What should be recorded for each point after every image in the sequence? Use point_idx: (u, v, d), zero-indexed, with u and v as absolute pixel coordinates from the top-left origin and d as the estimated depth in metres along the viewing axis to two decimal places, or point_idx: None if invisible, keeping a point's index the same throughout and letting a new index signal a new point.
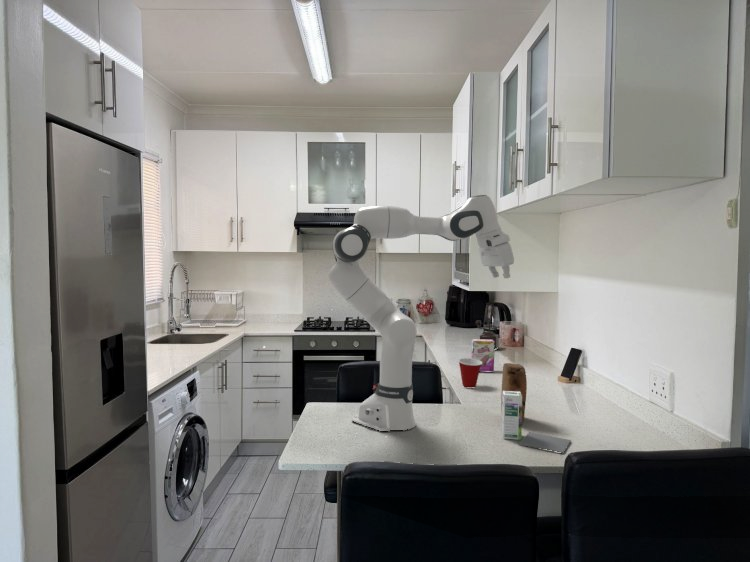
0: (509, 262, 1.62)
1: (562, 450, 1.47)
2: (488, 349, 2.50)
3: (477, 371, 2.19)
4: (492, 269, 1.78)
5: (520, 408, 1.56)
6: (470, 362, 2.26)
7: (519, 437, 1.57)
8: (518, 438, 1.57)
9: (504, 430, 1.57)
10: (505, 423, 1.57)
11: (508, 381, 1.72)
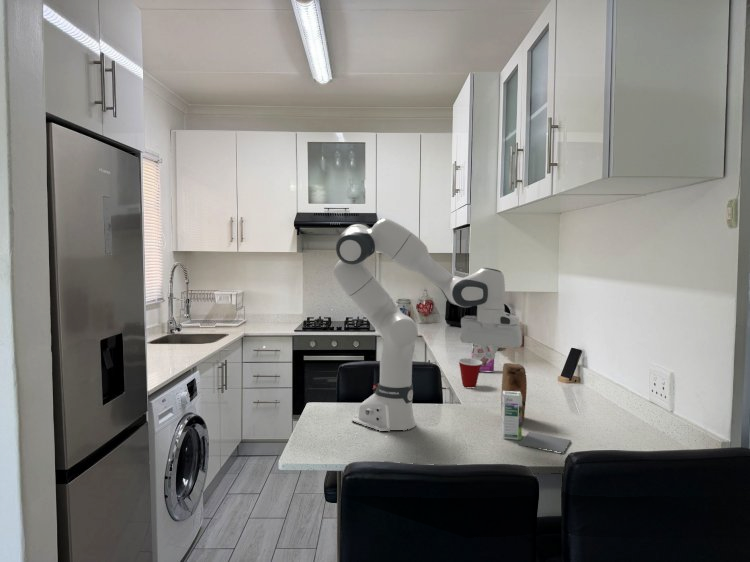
0: (520, 344, 1.57)
1: (562, 450, 1.47)
2: (488, 349, 2.50)
3: (477, 371, 2.19)
4: (485, 349, 1.63)
5: (520, 408, 1.56)
6: (470, 362, 2.26)
7: (519, 437, 1.57)
8: (518, 438, 1.57)
9: (504, 430, 1.57)
10: (505, 423, 1.57)
11: (508, 381, 1.72)
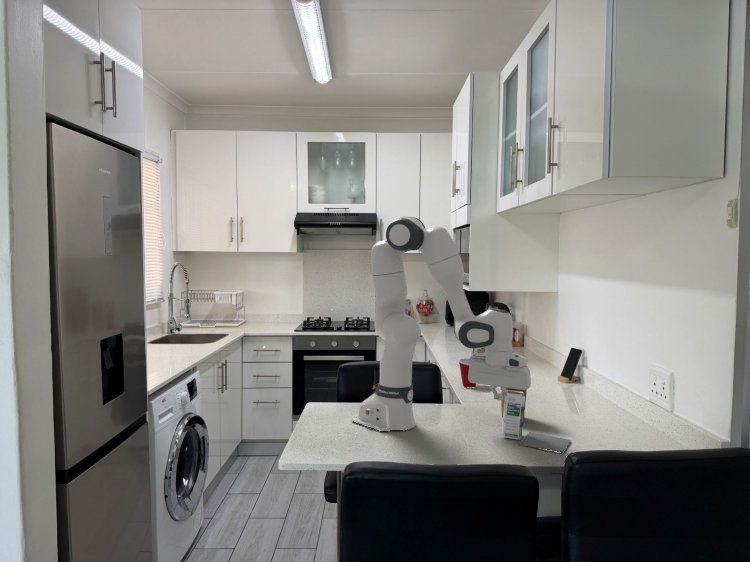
0: (529, 386, 1.56)
1: (562, 450, 1.47)
2: None
3: None
4: (494, 390, 1.62)
5: (522, 409, 1.56)
6: None
7: (519, 437, 1.57)
8: (518, 438, 1.57)
9: (505, 429, 1.57)
10: (506, 422, 1.57)
11: None
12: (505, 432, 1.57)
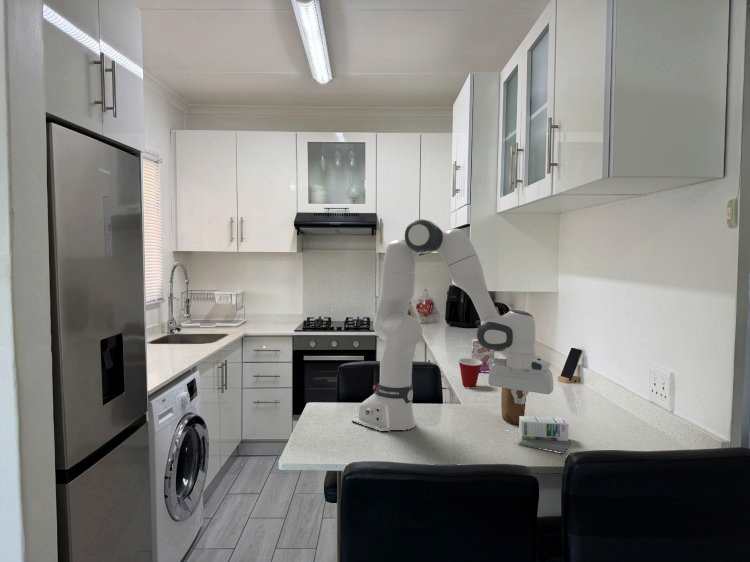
0: (552, 390, 1.53)
1: (562, 450, 1.47)
2: (488, 349, 2.50)
3: (477, 371, 2.19)
4: (514, 393, 1.59)
5: (554, 439, 1.55)
6: (470, 362, 2.26)
7: (524, 437, 1.56)
8: (523, 436, 1.56)
9: (530, 422, 1.56)
10: (538, 424, 1.55)
11: None
12: (527, 423, 1.56)
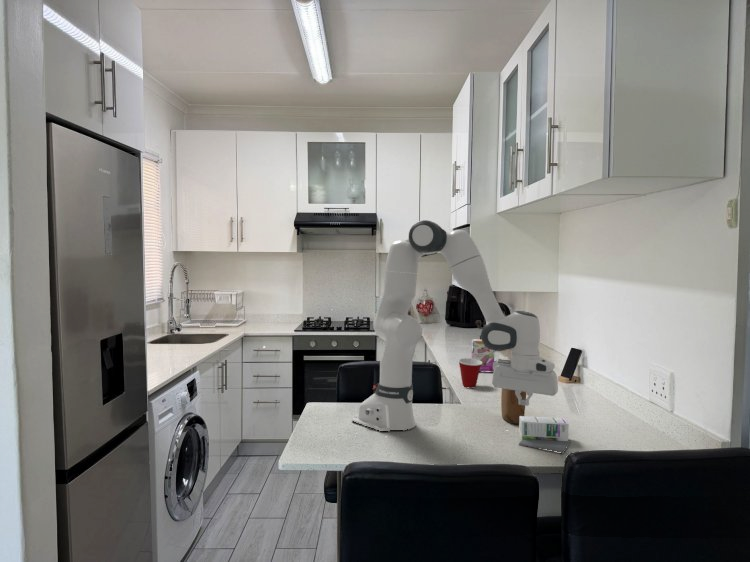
0: (556, 392, 1.52)
1: (562, 450, 1.47)
2: (488, 349, 2.50)
3: (477, 371, 2.19)
4: (519, 395, 1.58)
5: (554, 439, 1.55)
6: (470, 362, 2.26)
7: (524, 437, 1.56)
8: (523, 436, 1.56)
9: (530, 422, 1.56)
10: (538, 424, 1.55)
11: None
12: (527, 423, 1.56)
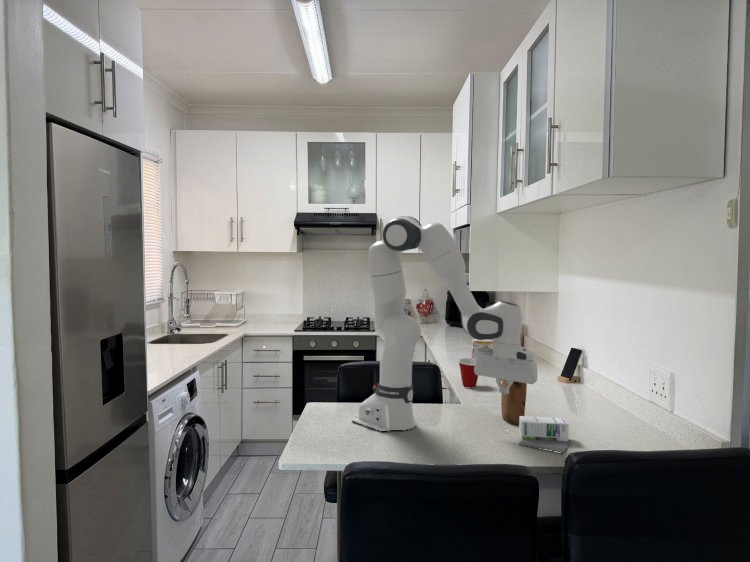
0: (535, 381, 1.55)
1: (562, 450, 1.47)
2: None
3: None
4: (499, 383, 1.61)
5: (554, 439, 1.55)
6: (470, 362, 2.26)
7: (524, 437, 1.56)
8: (523, 436, 1.56)
9: (530, 422, 1.56)
10: (538, 424, 1.55)
11: None
12: (527, 423, 1.56)
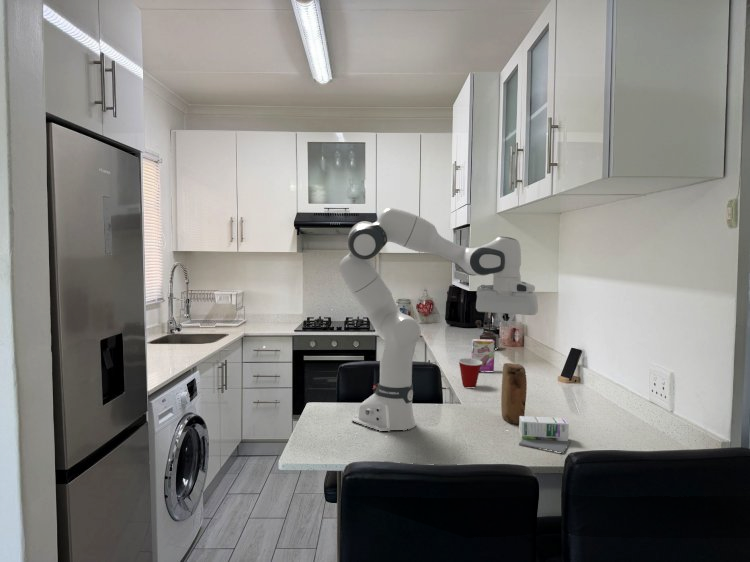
0: (536, 312, 1.59)
1: (562, 450, 1.47)
2: (488, 349, 2.50)
3: (477, 371, 2.19)
4: (501, 317, 1.65)
5: (554, 439, 1.55)
6: (470, 362, 2.26)
7: (524, 437, 1.56)
8: (523, 436, 1.56)
9: (530, 422, 1.56)
10: (538, 424, 1.55)
11: (508, 381, 1.72)
12: (527, 423, 1.56)
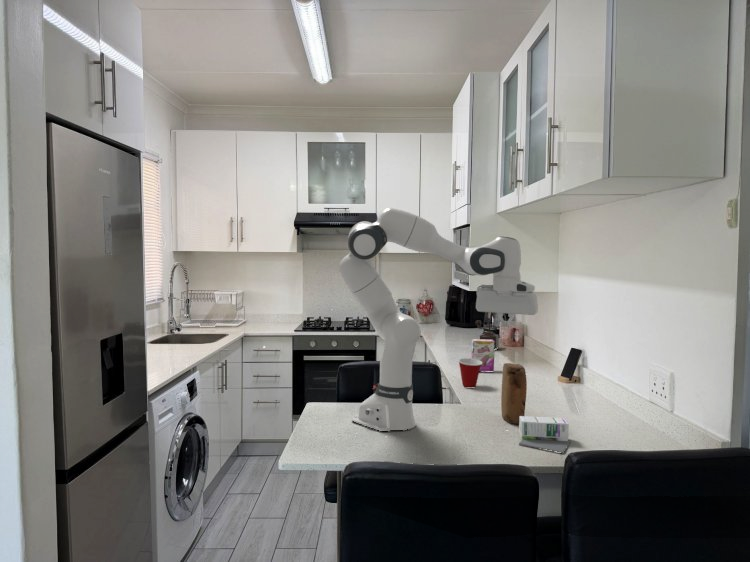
0: (536, 312, 1.59)
1: (562, 450, 1.47)
2: (488, 349, 2.50)
3: (477, 371, 2.19)
4: (501, 317, 1.65)
5: (554, 439, 1.55)
6: (470, 362, 2.26)
7: (524, 437, 1.56)
8: (523, 436, 1.56)
9: (530, 422, 1.56)
10: (538, 424, 1.55)
11: (508, 381, 1.72)
12: (527, 423, 1.56)
